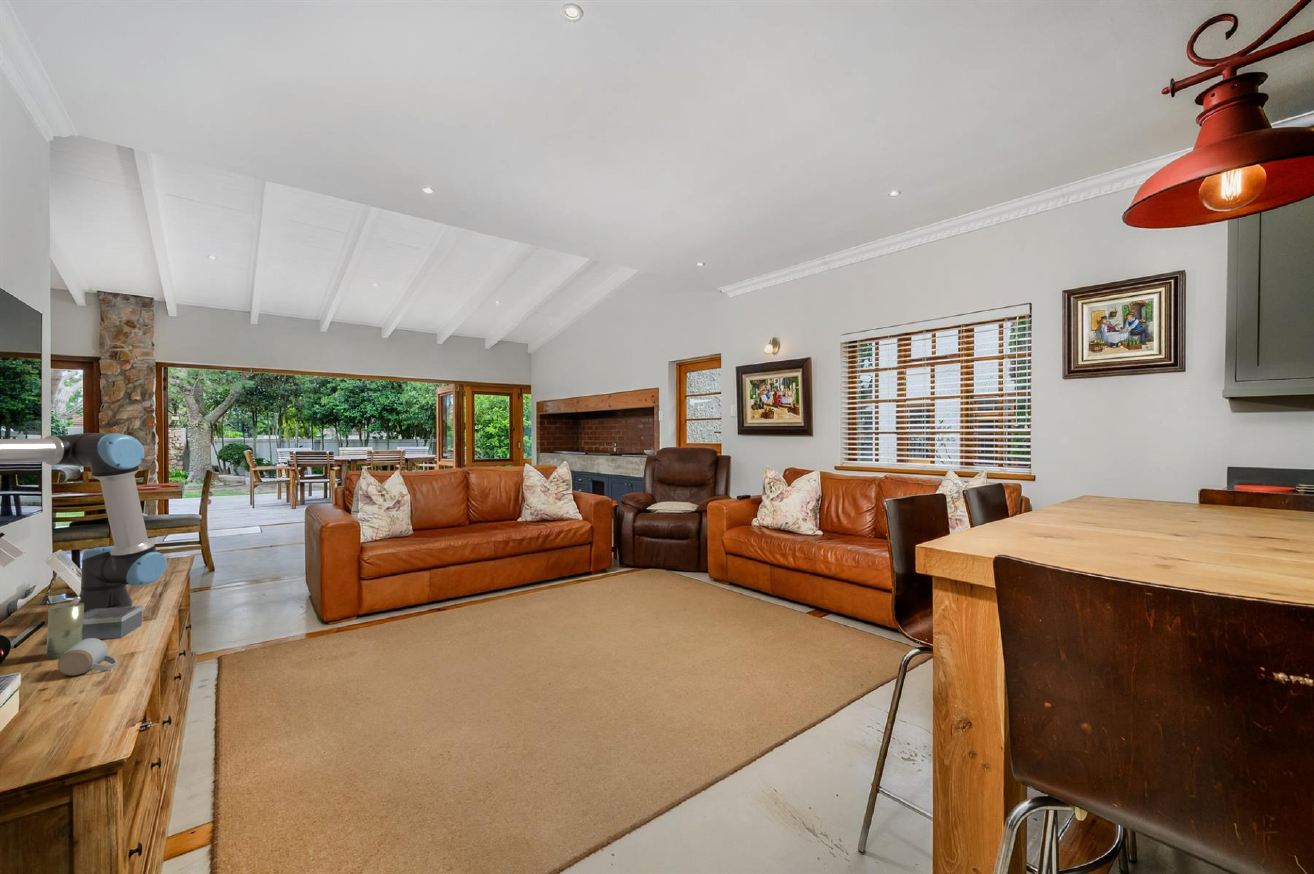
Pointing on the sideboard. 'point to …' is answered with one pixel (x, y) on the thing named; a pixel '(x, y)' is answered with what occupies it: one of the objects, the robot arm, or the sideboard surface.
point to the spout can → (64, 627)
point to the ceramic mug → (85, 657)
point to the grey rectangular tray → (111, 622)
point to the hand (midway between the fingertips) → (14, 559)
